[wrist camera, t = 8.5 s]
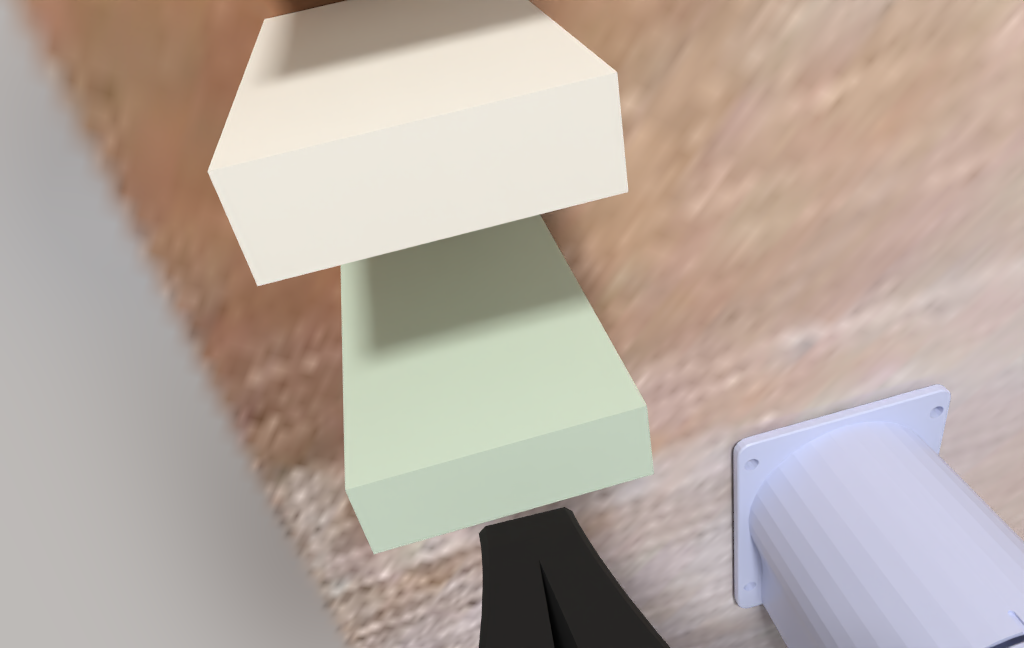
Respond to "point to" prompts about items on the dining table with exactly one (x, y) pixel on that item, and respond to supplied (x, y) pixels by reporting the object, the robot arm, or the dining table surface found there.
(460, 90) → the domino
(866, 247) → the dining table surface
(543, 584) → the robot arm
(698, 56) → the dining table surface
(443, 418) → the sage domino
